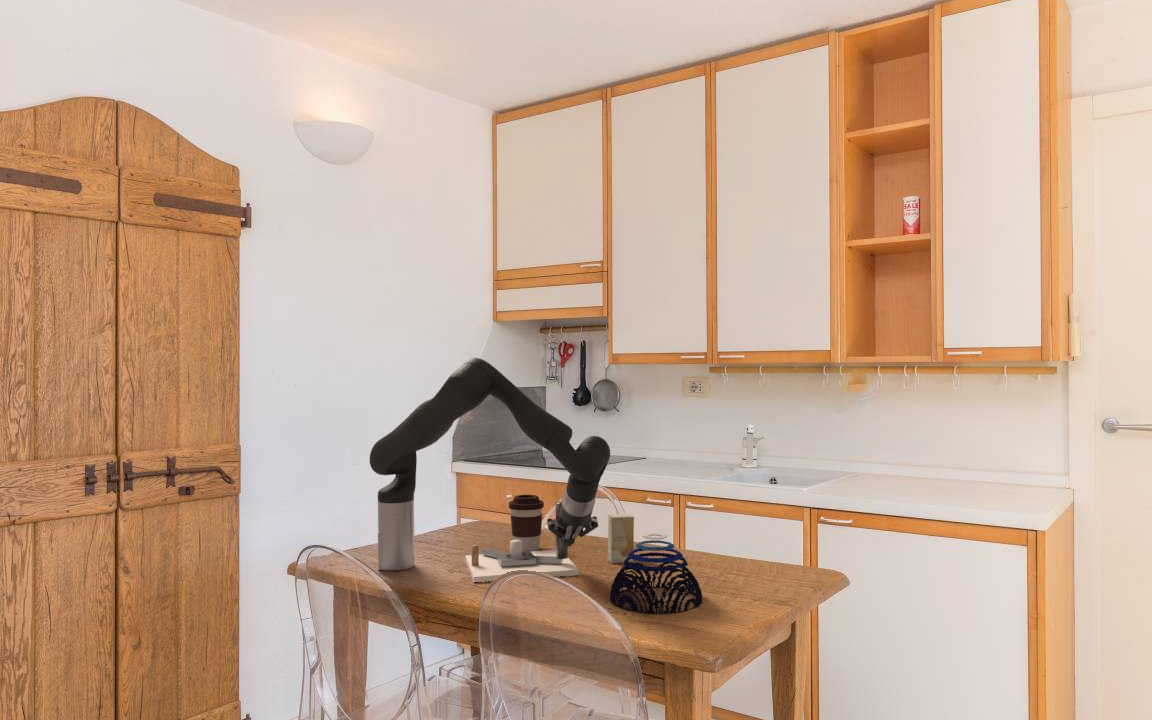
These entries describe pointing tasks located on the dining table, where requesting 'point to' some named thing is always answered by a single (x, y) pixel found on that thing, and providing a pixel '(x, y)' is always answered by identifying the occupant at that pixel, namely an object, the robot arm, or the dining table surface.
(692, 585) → the decorative bowl
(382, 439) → the robot arm
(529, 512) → the coffee cup
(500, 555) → the grey angle bracket
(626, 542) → the skincare box
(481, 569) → the post base
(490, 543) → the dining table surface
